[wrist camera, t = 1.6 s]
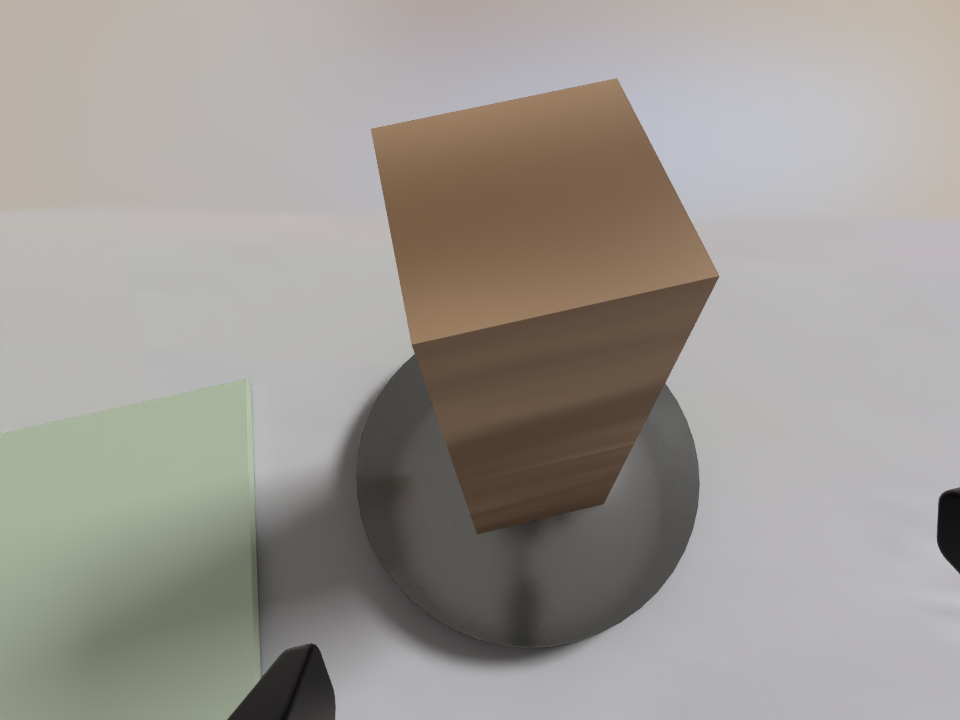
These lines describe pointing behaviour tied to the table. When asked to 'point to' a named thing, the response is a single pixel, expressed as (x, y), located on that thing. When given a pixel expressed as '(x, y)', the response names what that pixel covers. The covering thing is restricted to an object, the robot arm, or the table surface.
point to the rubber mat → (131, 562)
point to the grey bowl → (522, 529)
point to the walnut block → (540, 290)
